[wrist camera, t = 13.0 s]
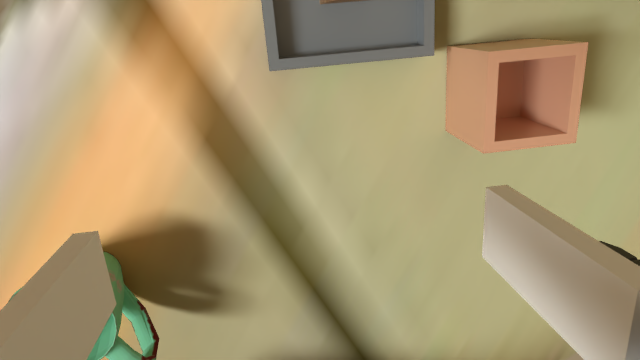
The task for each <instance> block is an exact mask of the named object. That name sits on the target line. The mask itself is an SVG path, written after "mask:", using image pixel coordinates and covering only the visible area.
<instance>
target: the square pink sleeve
mask: <svg viewBox="0 0 640 360" xmlns="http://www.w3.org/2000/svg"><path fill="white" fill-rule="evenodd" d="M587 50H588V42H578V41H562V40H547V39H531V38H529V39H518V40H507V41H497V42H486V43H475V44H465V45H454V46H447V81H446V131H447V132H449V133H450V134H452V135H453V136H455V137H457V138H458V139H460V140H462V141H463V142H465V143H467V144H468V145H470V146H472V147H473V148H475V149H477V150H478V151H480V152H482V153H492V152H500V151H509V150H518V149H526V148H535V147H544V146H552V145H561V144H570V143H576V137H577V129H578V121H579V113H580V106H581V98H582V90H583V82H584V74H585V66H586V58H587Z"/></svg>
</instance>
